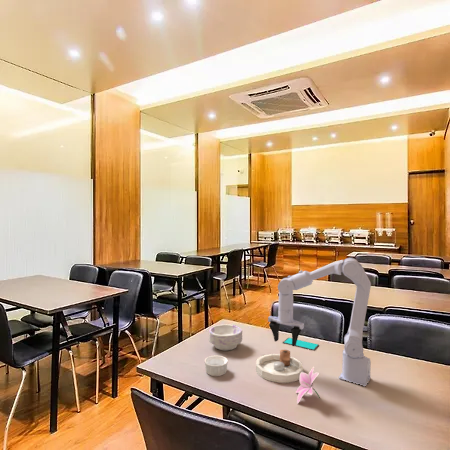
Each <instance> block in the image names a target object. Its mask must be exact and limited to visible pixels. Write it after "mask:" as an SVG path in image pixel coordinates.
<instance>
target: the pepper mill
mask: <svg viewBox="0 0 450 450" xmlns="http://www.w3.org/2000/svg"><path fill="white" fill-rule="evenodd" d="M279 354H280V362H283V363H284V366H290V356H291V351H290V350H288V349H280V350H279Z"/></svg>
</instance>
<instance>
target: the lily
mask: <svg viewBox="0 0 450 450" xmlns="http://www.w3.org/2000/svg"><path fill="white" fill-rule="evenodd" d="M314 369H315V366H313V367H312V368H311V369H310V371H309V372H308V373H306V372H304V371H303V372H301V373H300V377H299V380H298V381H299V384H300V385H299V386H298V387H297V389H296V390H295V394H297V397H296V404H297V405H298V404H299V403H300V401H301V399H302V398H303V396H304V395H305V394H307V395H310V396H312V395H313V391H314V392H315V393H316V395H317V397H318V399H321V397H320V395H319V393H318V392H317V390H316V389H315V387H314V381H315V380H316V378H317V377H318V376H319V374H320V372H314Z"/></svg>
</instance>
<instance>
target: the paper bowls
mask: <svg viewBox="0 0 450 450" xmlns="http://www.w3.org/2000/svg"><path fill="white" fill-rule="evenodd" d="M208 341H209V342H210V343H211V345H213V346H214V347H215V349H218V350H220V351H232V350H235V349H236V348H237V347H238V346H239V345H240V344H241V343H242V342H243V329H242V327H240V326H238V325H235V324H226V323H225V324H217V325H214V326H211V327H210V328H209V330H208Z"/></svg>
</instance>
